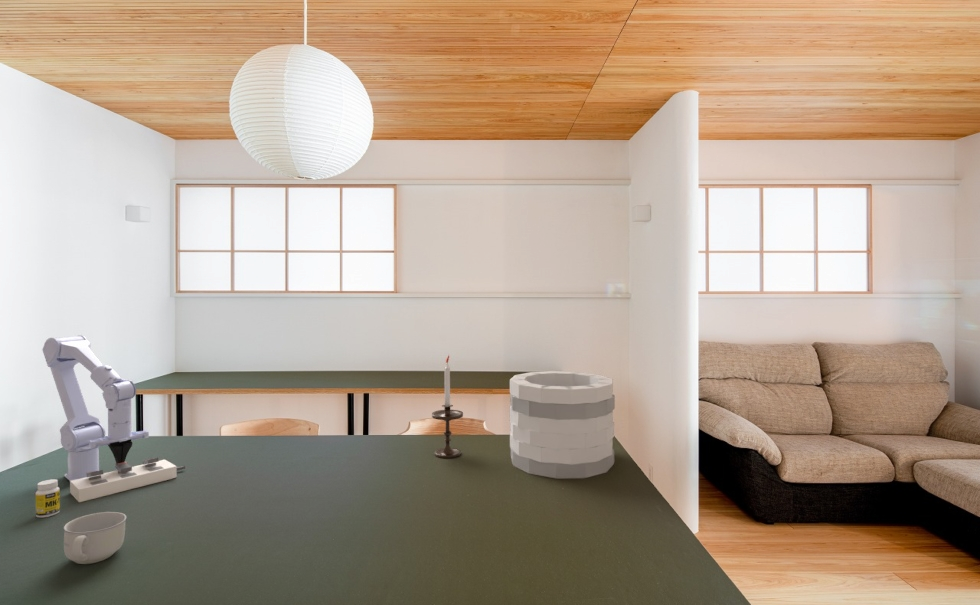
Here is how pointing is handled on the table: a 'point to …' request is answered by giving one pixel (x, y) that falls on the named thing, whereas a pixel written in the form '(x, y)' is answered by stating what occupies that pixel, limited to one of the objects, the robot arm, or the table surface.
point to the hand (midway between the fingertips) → (120, 465)
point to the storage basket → (562, 423)
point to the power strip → (122, 480)
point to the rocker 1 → (94, 473)
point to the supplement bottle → (47, 498)
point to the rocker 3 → (150, 461)
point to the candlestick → (447, 419)
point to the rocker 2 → (123, 467)
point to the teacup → (94, 537)
